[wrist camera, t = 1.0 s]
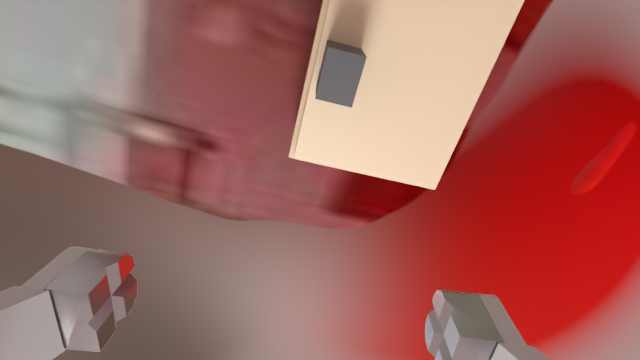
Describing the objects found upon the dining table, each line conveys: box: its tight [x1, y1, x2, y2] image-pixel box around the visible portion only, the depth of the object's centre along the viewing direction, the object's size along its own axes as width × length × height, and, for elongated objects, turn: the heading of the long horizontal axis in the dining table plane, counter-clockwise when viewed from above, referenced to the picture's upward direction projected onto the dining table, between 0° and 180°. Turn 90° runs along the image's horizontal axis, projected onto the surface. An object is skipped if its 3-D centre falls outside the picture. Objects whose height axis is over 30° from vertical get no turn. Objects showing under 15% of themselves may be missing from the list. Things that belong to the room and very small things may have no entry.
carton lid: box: [294, 0, 524, 190], centre depth 30 cm, size 19×15×5 cm
